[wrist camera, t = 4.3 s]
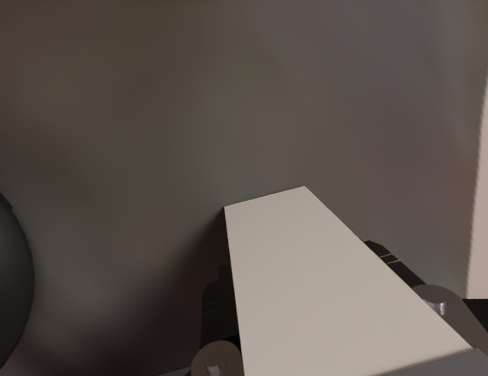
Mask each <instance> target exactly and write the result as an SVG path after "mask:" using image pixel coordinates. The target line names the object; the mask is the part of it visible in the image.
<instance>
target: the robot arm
mask: <svg viewBox="0 0 488 376" xmlns="http://www.w3.org/2000/svg"><path fill="white" fill-rule="evenodd" d="M353 233H354V232H353ZM354 234H355V233H354ZM355 235H356V234H355ZM356 236H357V235H356ZM357 237H358V236H357ZM358 238H359V237H358ZM359 239H360V238H359ZM360 240H361V239H360ZM361 241H362V240H361ZM362 242H363V241H362ZM363 243H364V244H365V245H366V246H367V247H368V248H369V249H370V250H371V251H373V252H374V253H375V254H376V255H377V256H378V257H379V258H380V259H381V260H382V261H383V262H384V263H385V264H386V265H387V266H388V267H389V268H390V269H391V270H392V271H393V272H394V273H395V274H396V275H397V276H398V277H400V278H401V279H402V280H403V281H404V282H405V283H406V284H407V285H408V286H409V287H410V288H411V289H412V290H413V291H414V292H415V293H416V294H417V295H418V296H419V297H420V298H421V299H422V300H423V301H424V302H425V303H427V304H428V305H429V306H430V307H431V308H432V309H433V310H434V311H435V312H436V313H437V314H438V315H439V316H440V317H441V318H442V319H443V320H444V321H445V322H446V323H447V324H448V325H449V326H450V327H451V328H452V329H454V330H455V331H456V332H457V333H458V334H459V335H460V336H461V337H462V338H463V339H464V340H465V341H466V342H467V343H468V344H469V345H470V346H471V347H472V348H473V349H477V348H479V349H480V350H481V351H482V352H483V353H484V354H486V355H487V356H488V299H461V298H460V297H459V296H458V295H457V294H455V293H454V292H452V291H451V290H448V289H446V288H444V287H440V286H436V285H427V284H426V283H425V282H423V281H422V280H421V279H420V278H419V277H418V276H417V275H415V274H414V273H413V272H412V271H411V270H410V269H409V268H407V267H406V266H405V265H404V264H403V263H402V262H401V261H400V262H399V260H398V259H397V258H396V257H395V256H394V255H391V253H390V252H389V251H388V250H387V249H386V248H384V247H383V246H382V245H380V244H377V243H375V242H372V241H370V240H369V241H365V242H363ZM184 376H245V374H244V366H243V357H242V349H241V341H240V333H239V324H238V316H237V308H236V300H235V291H234V283H233V275H232V267H231V264H229V265H225V266H221V267H219V281H216V282H212V283H208V285H207V287H206V289H205V290H204V292H203V296H202V321H201V345H200V351H199V352H198V353H197V354H196V356H195V357H194V359H193V361H192V365H191V370H190V371H189V372H188V373H187V374H186V375H184Z"/></svg>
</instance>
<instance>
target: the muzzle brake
mask: <svg viewBox="0 0 488 376" xmlns="http://www.w3.org/2000/svg"><path fill="white" fill-rule="evenodd" d="M10 209H12V206H11V205H10V203H9V202H8V201H7V200H6V199H5V198H4V197H3V195H2V194H1V193H0V369H1V368H2V367H3V366H4V364H5V363H6V361H7V360H8V358H9V357H10V355H11V354H12V352H13V351H14V349H15V348H16V346H17V345H18V343H19V341H20V339H21V337H22V334H23V332H24V329H25V327H26V324H27V322H28V319H29V316H30V312H31V307H32V302H33V298H34V268H33V261H32V255H31V251H30V248H29V245H28V242H27V239H26V237H25V234H24V232H23V230H22V228H21V226H20V225H19V223H18V221H17V219H16V217H15V215H14V214H13V213H12V212H11V211H10Z"/></svg>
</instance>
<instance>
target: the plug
mask: <svg viewBox="0 0 488 376" xmlns="http://www.w3.org/2000/svg"><path fill="white" fill-rule="evenodd" d="M224 209H225V217H226V226H227V234H228V242H229V250H230V259H231V267H232V275H233V283H234V291H235V300H236V308H237V316H238V324H239V333H240V341H241V349H242V357H243V366H244V374H245V376H488V356H487V355H486V354H484V353H483V352H482V351H481V350H480V349H479V348H477V349H473V348H472V347H471V346H470V345H469V344H468V343H467V342H466V341H465V340H464V339H463V338H462V337H461V336H460V335H459V334H458V333H457V332H456V331H455V330H454V329H452V328H451V327H450V326H449V325H448V324H447V323H446V322H445V321H444V320H443V319H442V318H441V317H440V316H439V315H438V314H437V313H436V312H435V311H434V310H433V309H432V308H431V307H430V306H429V305H428V304H427V303H425V302H424V301H423V300H422V299H421V298H420V297H419V296H418V295H417V294H416V293H415V292H414V291H413V290H412V289H411V288H410V287H409V286H408V285H407V284H406V283H405V282H404V281H403V280H402V279H401V278H400V277H398V276H397V275H396V274H395V273H394V272H393V271H392V270H391V269H390V268H389V267H388V266H387V265H386V264H385V263H384V262H383V261H382V260H381V259H380V258H379V257H378V256H377V255H376V254H375V253H374V252H373V251H371V250H370V249H369V248H368V247H367V246H366V245H365V244H364V243H363V242H362V241H361V240H360V239H359V238H358V237H357V236H356V235H355V234H354V233H353V232H352V231H351V230H350V229H349V228H348V227H347V226H346V225H345V224H343V223H342V222H341V221H340V220H339V219H338V218H337V217H336V216H335V215H334V214H333V213H332V212H331V211H330V210H329V209H328V208H327V207H326V206H325V205H324V204H323V203H322V202H321V201H320V200H319V199H318V198H316V197H315V196H314V195H313V194H312V193H311V192H310V191H309V190H308V189H307V188H306V187H305V186H302V187H298V188H294V189H290V190H287V191H283V192H279V193H275V194H271V195H267V196H263V197H260V198H256V199H252V200H248V201H244V202H240V203H236V204H232V205H229V206H225V207H224Z"/></svg>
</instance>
